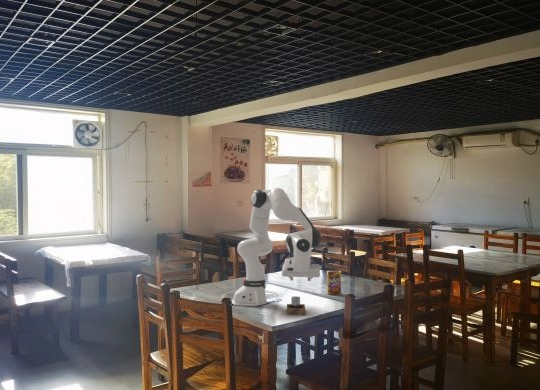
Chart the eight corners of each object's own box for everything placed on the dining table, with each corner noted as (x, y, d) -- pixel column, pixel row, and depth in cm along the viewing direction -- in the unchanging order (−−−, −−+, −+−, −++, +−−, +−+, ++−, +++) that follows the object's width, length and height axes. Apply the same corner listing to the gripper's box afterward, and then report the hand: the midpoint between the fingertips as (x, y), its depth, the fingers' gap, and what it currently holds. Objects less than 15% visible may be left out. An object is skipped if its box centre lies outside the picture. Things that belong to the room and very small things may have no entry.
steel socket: (291, 311, 260) (291, 298, 260) (291, 309, 265) (291, 296, 265) (300, 311, 260) (300, 298, 260) (299, 309, 264) (300, 296, 264)
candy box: (327, 294, 306) (327, 271, 306) (326, 293, 310) (326, 270, 310) (341, 294, 306) (341, 271, 306) (339, 293, 311) (339, 270, 311)
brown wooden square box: (286, 314, 257) (286, 308, 257) (286, 310, 267) (286, 304, 267) (305, 315, 257) (305, 308, 257) (304, 310, 267) (304, 304, 267)
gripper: (321, 259, 245) (319, 275, 254) (282, 258, 245) (281, 274, 255) (322, 269, 240) (319, 285, 250) (282, 268, 241) (281, 284, 250)
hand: (300, 279), depth 252 cm, fingers open, 8 cm apart
